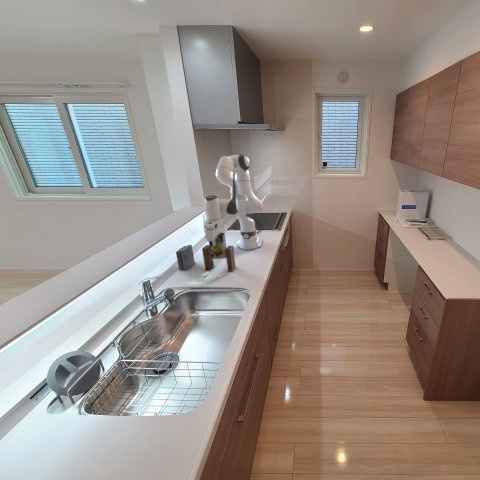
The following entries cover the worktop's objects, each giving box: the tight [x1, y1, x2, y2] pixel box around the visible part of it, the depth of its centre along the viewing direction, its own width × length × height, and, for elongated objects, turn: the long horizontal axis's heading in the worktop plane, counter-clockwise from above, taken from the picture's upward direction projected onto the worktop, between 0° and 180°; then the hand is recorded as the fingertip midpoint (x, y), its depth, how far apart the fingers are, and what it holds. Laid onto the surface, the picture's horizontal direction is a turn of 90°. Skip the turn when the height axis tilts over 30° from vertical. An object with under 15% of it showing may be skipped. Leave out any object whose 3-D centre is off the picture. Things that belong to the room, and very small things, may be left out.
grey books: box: [175, 244, 196, 271], centre depth 166 cm, size 10×6×14 cm, turn 179°
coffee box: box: [208, 232, 228, 260], centre depth 160 cm, size 9×6×16 cm
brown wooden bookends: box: [201, 244, 236, 272], centre depth 163 cm, size 6×18×16 cm, turn 89°
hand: (217, 242), depth 159 cm, fingers closed on coffee box, 7 cm apart
